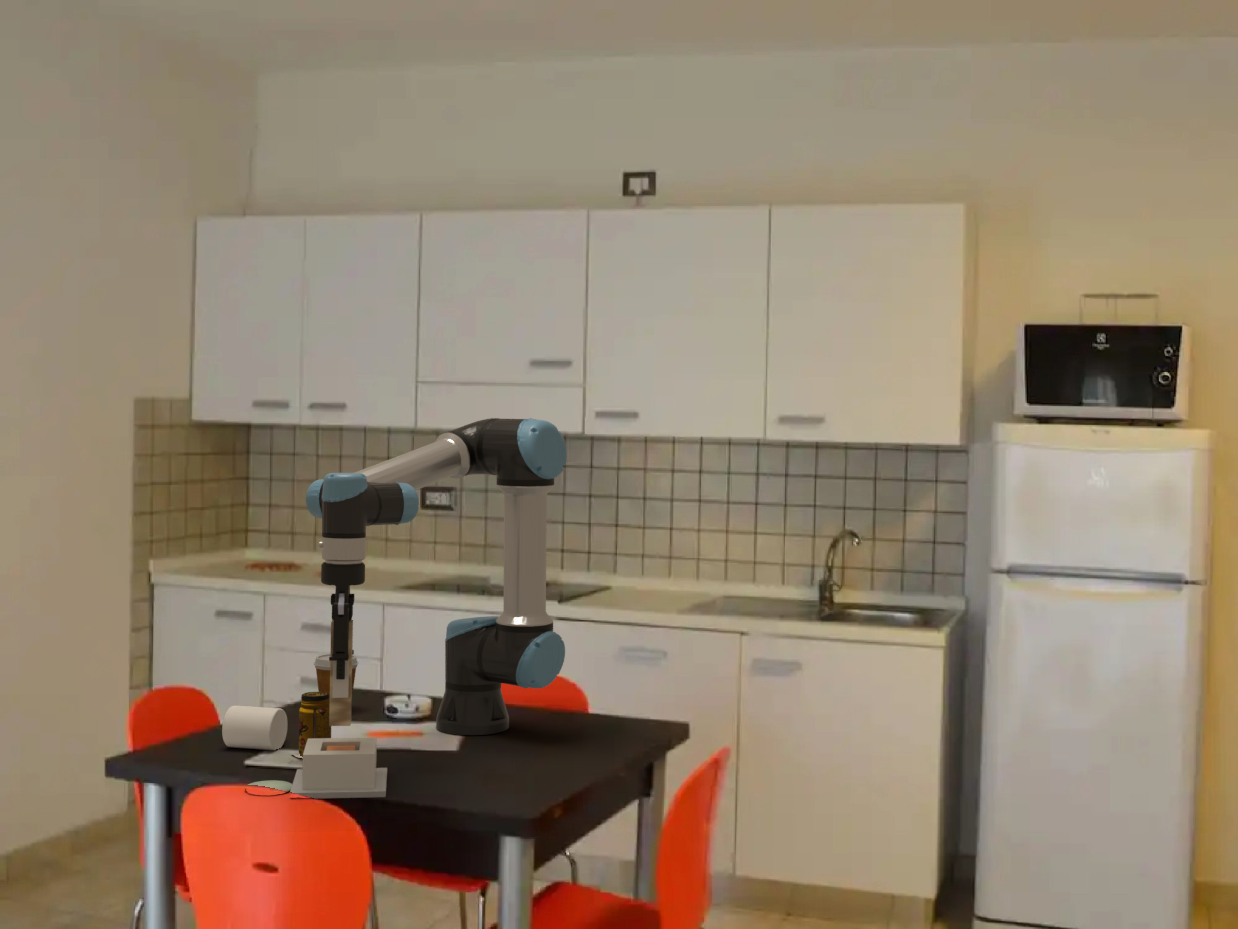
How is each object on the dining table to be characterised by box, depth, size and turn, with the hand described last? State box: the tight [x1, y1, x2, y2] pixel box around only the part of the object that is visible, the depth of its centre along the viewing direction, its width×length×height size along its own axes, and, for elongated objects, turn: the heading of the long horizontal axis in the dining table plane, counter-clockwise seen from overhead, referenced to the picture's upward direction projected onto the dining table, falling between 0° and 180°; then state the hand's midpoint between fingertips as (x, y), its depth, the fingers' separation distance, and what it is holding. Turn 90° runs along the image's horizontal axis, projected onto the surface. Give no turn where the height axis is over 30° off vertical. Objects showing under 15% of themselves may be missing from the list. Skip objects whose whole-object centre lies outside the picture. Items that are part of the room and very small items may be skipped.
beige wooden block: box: [329, 619, 354, 727], centre depth 246 cm, size 4×4×18 cm
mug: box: [221, 705, 288, 751], centre depth 275 cm, size 12×10×8 cm
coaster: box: [247, 779, 293, 791], centre depth 243 cm, size 8×8×1 cm
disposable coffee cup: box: [313, 653, 359, 706], centre depth 306 cm, size 10×10×12 cm
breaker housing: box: [289, 737, 388, 799], centre depth 247 cm, size 16×16×7 cm
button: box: [326, 745, 355, 751], centre depth 247 cm, size 5×5×4 cm
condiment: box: [298, 691, 332, 757], centre depth 268 cm, size 7×8×12 cm
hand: (340, 694), depth 246 cm, fingers closed on beige wooden block, 4 cm apart
